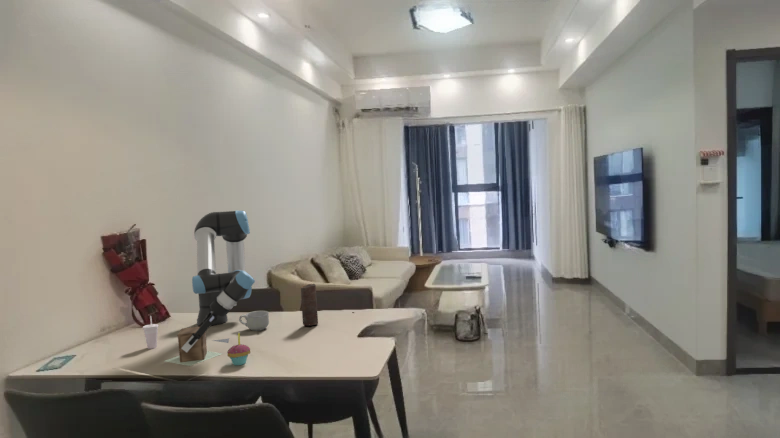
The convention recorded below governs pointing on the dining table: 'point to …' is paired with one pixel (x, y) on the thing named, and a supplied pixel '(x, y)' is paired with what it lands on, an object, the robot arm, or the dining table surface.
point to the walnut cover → (196, 350)
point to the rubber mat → (222, 340)
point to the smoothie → (151, 334)
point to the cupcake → (238, 353)
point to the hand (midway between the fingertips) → (186, 345)
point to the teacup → (256, 320)
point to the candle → (309, 305)
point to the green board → (189, 363)
